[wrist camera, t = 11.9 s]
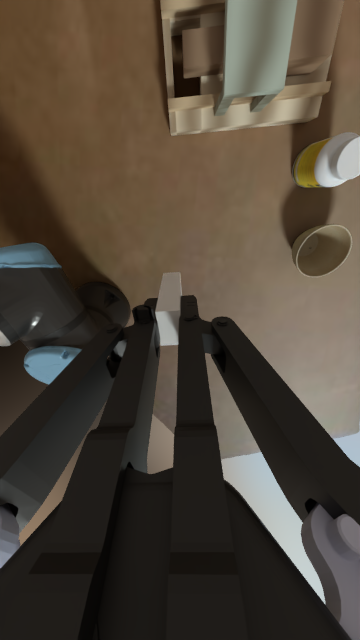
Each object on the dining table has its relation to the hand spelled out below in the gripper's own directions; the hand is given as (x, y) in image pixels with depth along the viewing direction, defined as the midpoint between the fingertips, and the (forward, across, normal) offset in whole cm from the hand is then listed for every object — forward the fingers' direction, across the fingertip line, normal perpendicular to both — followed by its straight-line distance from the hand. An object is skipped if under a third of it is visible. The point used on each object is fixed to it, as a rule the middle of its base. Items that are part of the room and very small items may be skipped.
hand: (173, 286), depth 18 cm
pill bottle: (+30, +25, +9) cm, 40 cm away
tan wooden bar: (+26, +12, +22) cm, 36 cm away
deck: (+29, +12, +22) cm, 38 cm away
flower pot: (+30, +28, -5) cm, 41 cm away
